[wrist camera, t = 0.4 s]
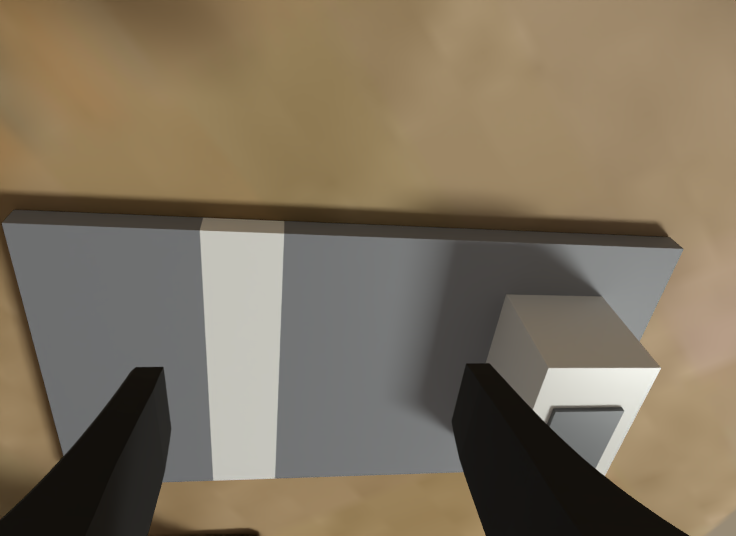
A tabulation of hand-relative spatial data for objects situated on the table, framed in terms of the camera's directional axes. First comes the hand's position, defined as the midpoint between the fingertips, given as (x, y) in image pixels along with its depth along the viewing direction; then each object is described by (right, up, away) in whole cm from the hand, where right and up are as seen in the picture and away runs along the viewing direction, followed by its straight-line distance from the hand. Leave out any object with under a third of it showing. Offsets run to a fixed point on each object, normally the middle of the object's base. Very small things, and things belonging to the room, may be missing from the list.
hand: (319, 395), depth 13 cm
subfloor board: (+1, -1, +12) cm, 12 cm away
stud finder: (+9, -2, +13) cm, 15 cm away
